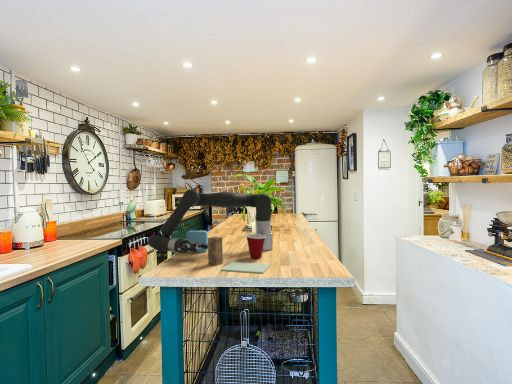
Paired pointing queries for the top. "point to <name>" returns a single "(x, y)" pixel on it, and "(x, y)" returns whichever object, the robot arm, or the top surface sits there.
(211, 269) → the top surface
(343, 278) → the top surface
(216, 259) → the walnut block
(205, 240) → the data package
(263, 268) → the mat
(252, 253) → the plastic cup
